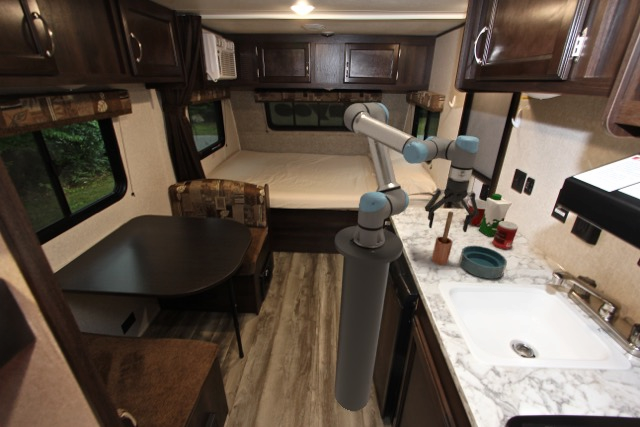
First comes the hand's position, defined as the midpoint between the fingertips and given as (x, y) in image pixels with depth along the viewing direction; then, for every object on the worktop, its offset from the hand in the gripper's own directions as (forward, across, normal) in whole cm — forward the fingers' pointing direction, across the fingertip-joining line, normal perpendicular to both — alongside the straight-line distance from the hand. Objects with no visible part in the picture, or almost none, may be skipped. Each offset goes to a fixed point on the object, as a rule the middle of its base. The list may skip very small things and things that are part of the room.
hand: (447, 228), depth 119 cm
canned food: (+16, +31, +21) cm, 41 cm away
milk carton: (+16, +29, +33) cm, 47 cm away
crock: (+15, 0, 0) cm, 15 cm away
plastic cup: (+16, +24, +43) cm, 52 cm away
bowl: (+15, +16, -1) cm, 22 cm away
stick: (+15, 0, 0) cm, 15 cm away
